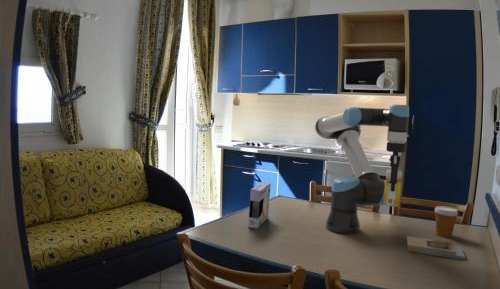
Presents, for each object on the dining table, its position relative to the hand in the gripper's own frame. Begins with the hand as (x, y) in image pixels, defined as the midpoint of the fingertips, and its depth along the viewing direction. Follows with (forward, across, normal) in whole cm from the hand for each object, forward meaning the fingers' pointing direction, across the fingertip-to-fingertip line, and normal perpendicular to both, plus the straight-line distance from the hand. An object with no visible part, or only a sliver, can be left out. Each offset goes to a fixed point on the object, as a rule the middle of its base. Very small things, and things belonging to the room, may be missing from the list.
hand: (391, 197), depth 163 cm
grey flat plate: (+18, -5, -20) cm, 27 cm away
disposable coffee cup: (+18, +19, -23) cm, 35 cm away
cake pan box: (+19, -5, +56) cm, 60 cm away
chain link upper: (+18, -5, -16) cm, 25 cm away
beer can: (+4, 0, 0) cm, 4 cm away
